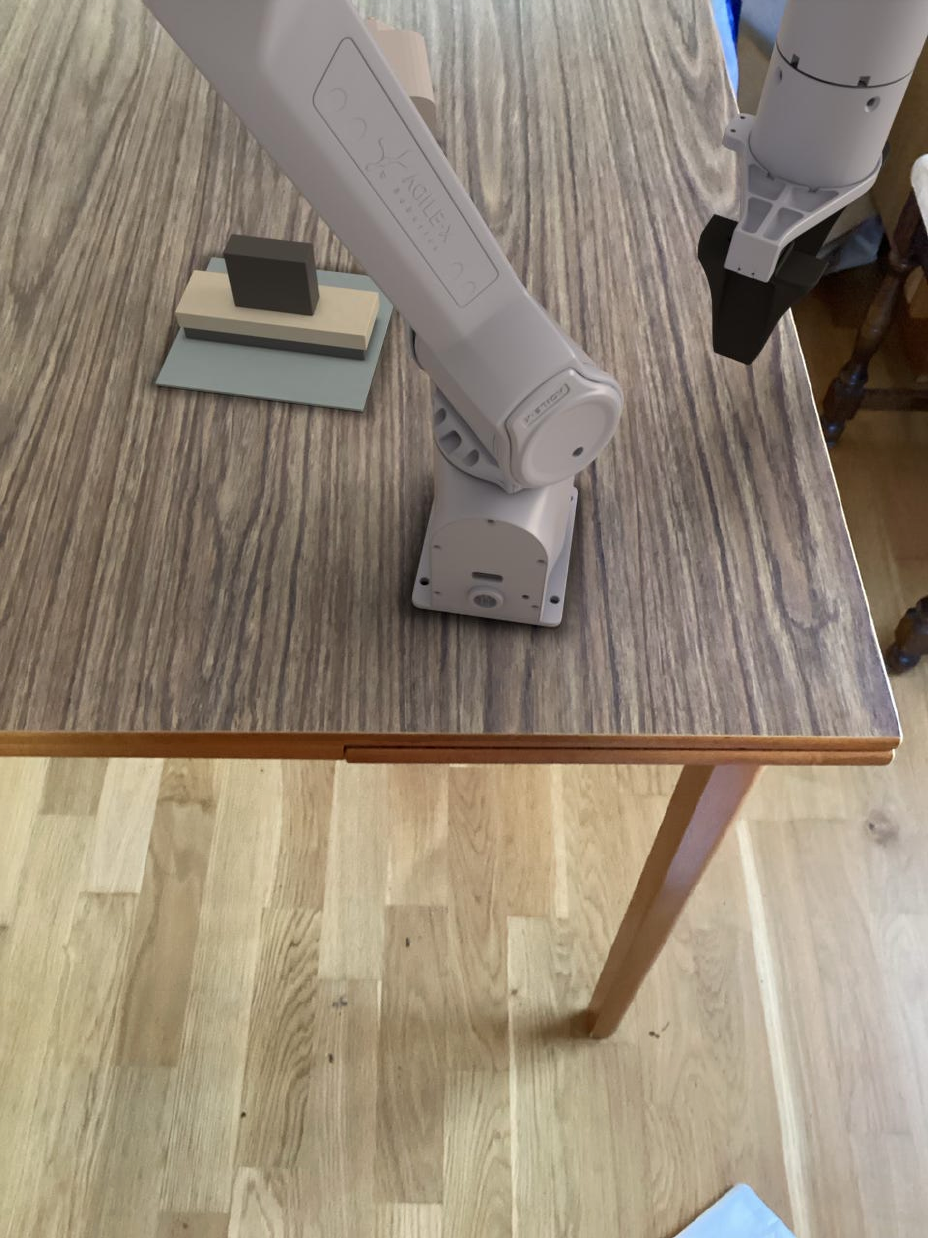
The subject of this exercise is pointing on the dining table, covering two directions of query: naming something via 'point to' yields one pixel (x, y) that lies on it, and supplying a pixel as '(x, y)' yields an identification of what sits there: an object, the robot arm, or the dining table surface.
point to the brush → (276, 302)
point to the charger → (408, 65)
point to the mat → (279, 361)
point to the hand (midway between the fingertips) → (760, 309)
